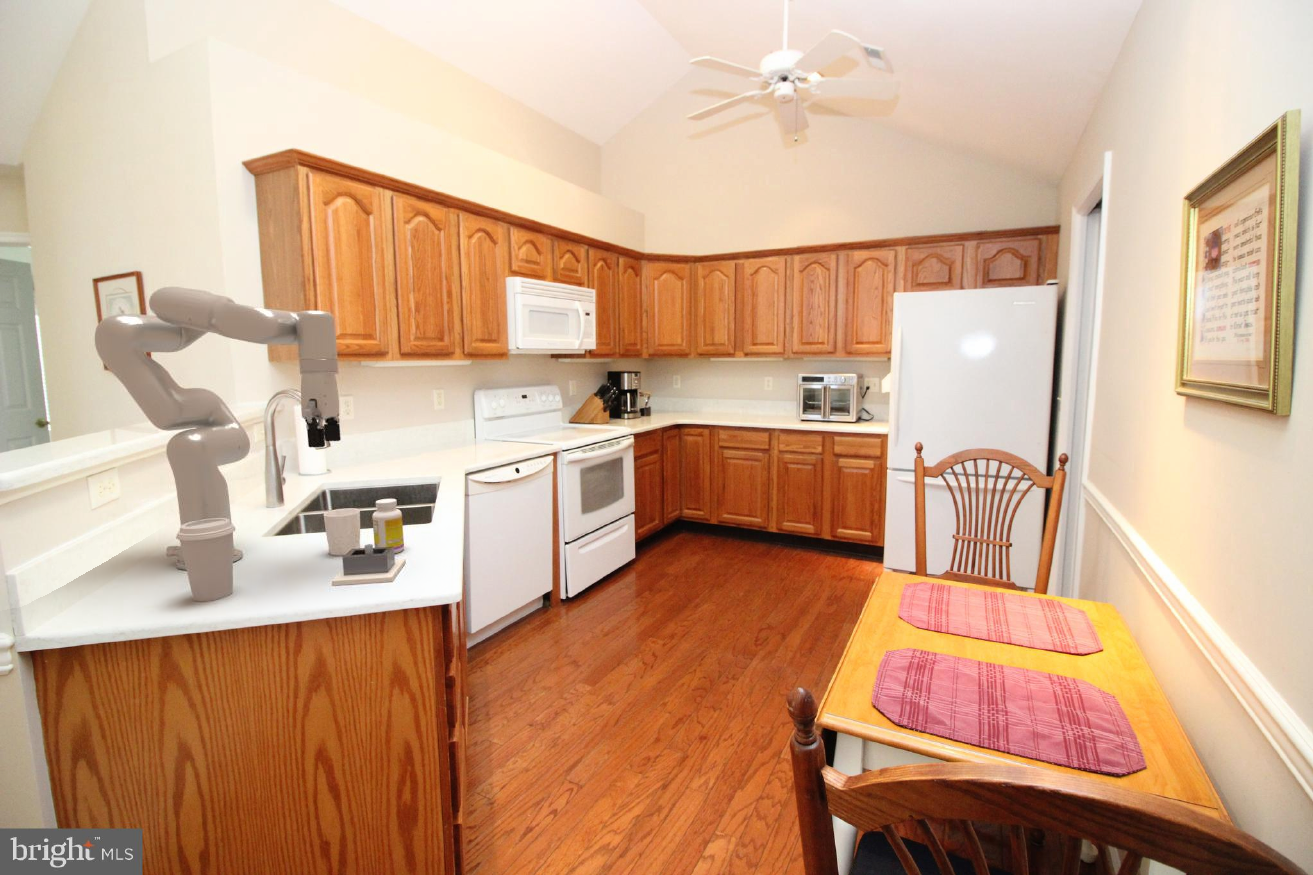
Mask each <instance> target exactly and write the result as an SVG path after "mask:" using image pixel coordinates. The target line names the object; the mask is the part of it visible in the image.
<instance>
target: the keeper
mask: <svg viewBox="0 0 1313 875" xmlns="http://www.w3.org/2000/svg"><path fill="white" fill-rule="evenodd" d="M373 545H374V544H371V543H369V544H365V545H364V548H365V555H366V554H373V548H374V546H373ZM406 561H407V560H406V558H400V559H399V558H398V559H396V558H395V564H394V566H393V567H392V568H391V570H390V571H389V572H388V573H375V574H359V575H344V571H343V569H342V570H341V571H340V572H339V573H338V574H337V575H336V576H335V577H334V578H333V579H332V580H331V586H346V585H363V584H374V583H375V584H377V583H379V584H381V583H391V582H392V583H393V581H394V580H395V579H396V577H397V576H398V574H399V573H400V572H401V570H402V569H403V568H402V567H404V566H405V565H406ZM404 564H405V565H404ZM403 565H404V566H403ZM399 571H400V572H399ZM398 572H399V573H398Z"/></svg>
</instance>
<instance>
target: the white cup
mask: <svg viewBox="0 0 1313 875" xmlns="http://www.w3.org/2000/svg"><path fill="white" fill-rule="evenodd" d="M360 512H361V510H360V509H358V508H354V507H353V508H351V507H350V508H337V509H334V510H333V509H332V510H329V511H326V512H324V513H323V519H324V520H323V521H324V526H325V534H326V535H325V536H326V541H327V545H328V553H329V554H330V555H331V556H338V557H339V556H345V555H346V554H347V553H348V552H349V551H350V550H351V549H360V548H361V513H360Z"/></svg>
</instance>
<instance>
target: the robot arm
mask: <svg viewBox="0 0 1313 875" xmlns="http://www.w3.org/2000/svg"><path fill="white" fill-rule="evenodd" d="M148 305H149V309H150V312H151V313H152V314H153V315H152V314H151V315H150V314H149V315H148V314H137V313H121V314H118V313H117V314H113V315H109V316H106V317H105V318H104V319H102V320H100V322H99V323H98V324H97V326H96V328H95V333H94V346H95V350H96V352H97V354H98V356H99V359H100V361H102V363H103V364H104V365H105V366H106V368H107V369H108V370H109V371H110V372H111V373H112V374H113V375H114V376H115V378H117V380H118V381H119V382H120V383H121V384H122V385H123V387H125V389H126V390H127V392H128V393H129V395H130V396H131V398H132V399H133V400H134V401H135V403H136V404H137V406H138V407H139V408H140V409H141V411H142V412H143V414H144V415H145V416H146V418H147V419H148V420H149V421H150V423H151V424H152V425H153V426H154V427H155V428H157V429H159V430H161V431H166V432H167V431H170V432H171V431H179V430H180V432H178V433H176V434H174V435H173V436H172V437H171V438H170V439H169V440H168V442H167V444H166V449H165V450H166V457H167V460H168V463H169V465H170V468H171V471H172V475H173V479H174V483H175V490H176V497H177V504H178V505H177V506H178V514H179V523H180V526H181V525H183V524H186V523H189V522H192V521H197V520H203V519H211V518H227V519H229V520H230V522H231V523H232V514H231V504H230V494H229V487H228V484H227V480H226V479H225V476H224V475H223V473H222V472H221V471H220V469H219V467H220V466H224V465H229V464H232V463H237V462H240V461H242V460H244V458H246V457H247V456H248V455H249V452H250V449H251V442H250V438H249V436H248V434H247V431H246V430H245V429H244V427H243V426H242V424H241V423H240V422H239V420H238V419H237V417H236V416H235V415H234V414H233V412H232V411H231V410H230V408H229V407H228V406H227V404H226V402H225V401H224V400H223V399H222V397H220V396H219V395H218V394H216V393H215V392H214V391H212V390H210V389H207V388H202V387H191V388H190V387H188V388H185V387H181V386H180V385H179V384H178V383H177V382H176V381H175V380H174V379H173V376H171V374H170V372H169V370H167V369H166V368H165V367H164V366H163V365H161V364H160V363H159V362H158V361H156V360H154V359H153V358H151V357H150V356H148V355H147V354H146V353H177V352H179V351H183V350H184V349H186V348H188V347H190V346H191V345H192V344H194V343H195V342H196V341H198V340H199V339H200V338H202V337H203V336H205V335H206V334H207V333H210V334H211V333H212V334H217V335H219V336H221V337H224V338H228V339H233V340H238V341H242V342H248V343H252V344H258V345H276V346H277V345H280V346H297V350H298V352H297V353H298V363H299V364H298V365H299V366H298V367H299V375H301V379H300V381H301V382H300V405H301V406H300V408H301V410H300V411H301V418H302V419H303V420H304V421H305V428H306V432H307V444H308V445H307V446H308V447H309V448H323V447H326V442H339V441H341V438H342V437H341V426H340V399H339V389H338V383H337V376H336V375H339V374H340V372H339V363H338V362H339V361H338V347H337V346H338V345H337V335H336V333H337V332H336V322H335V317H334V315H333V314H332V313H331V312H329V311H324V310H301V311H298V312H297V311H290V310H284V309H283V310H282V309H275V308H262V307H258V306H257V307H256V306H249V305H245V304H240V303H236V302H235V301H234V299H232V298H231V297H228V296H224V295H220V294H219V295H218V294H214V293H211V292H210V291H206V290H203V289H201V290H200V289H197V288H194V289H193V288H186V287H180V286H165V287H160V288H159V289H156V290H155V291H154V292H153V293H152V294H151V295H150V296H149V301H148ZM181 430H182V431H181ZM232 524H233V523H232ZM165 551H166V552H165V555H166V557H178V559H177V561H176V567H177V568H178V569H179V570H186V571H187V569H186V565H185V561H184V556H183V552H182V548H181V545H171V546H170V545H169V546H167V547H166V550H165ZM243 556H244V554H243V550H241V549H239V548H235V543H234V540H233V563H234V562H236V561H237V562H238V560H240V559H241V558H243Z"/></svg>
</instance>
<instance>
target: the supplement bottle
mask: <svg viewBox="0 0 1313 875" xmlns="http://www.w3.org/2000/svg"><path fill="white" fill-rule="evenodd" d="M397 503H398V502H397V499H395V498H383V499H379V500H378V499H377V500H376V501H375V507H376V511H374V512H373V513H372V516H371V518H372V528H373V541H374V542H373V545H374V548H377V547H394V555H395V554H398V553H401V552H402V551H404V549H405V541H404V540H405V539H404V526H403V514H402V510H400V509H398V508H397Z"/></svg>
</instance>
